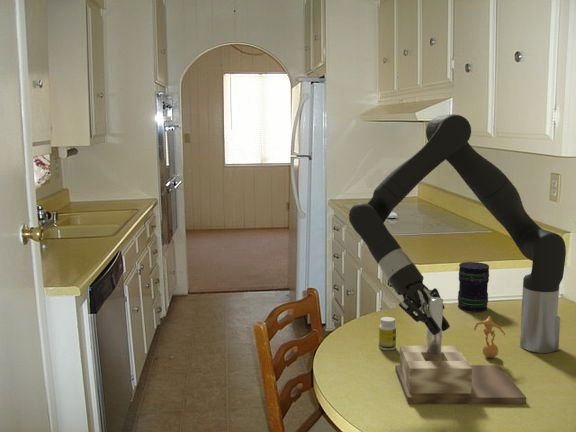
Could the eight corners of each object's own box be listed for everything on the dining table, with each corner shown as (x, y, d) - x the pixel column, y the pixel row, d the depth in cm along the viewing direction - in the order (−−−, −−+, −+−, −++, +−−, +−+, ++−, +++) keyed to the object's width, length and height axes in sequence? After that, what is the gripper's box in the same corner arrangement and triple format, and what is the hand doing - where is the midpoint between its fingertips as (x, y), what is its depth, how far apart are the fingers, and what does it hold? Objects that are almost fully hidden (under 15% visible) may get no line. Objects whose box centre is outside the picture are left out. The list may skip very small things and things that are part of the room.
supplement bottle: (395, 351, 164) (396, 322, 163) (378, 350, 165) (378, 321, 164) (395, 345, 169) (396, 316, 167) (379, 344, 170) (379, 315, 168)
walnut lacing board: (499, 370, 150) (499, 365, 150) (526, 403, 132) (526, 397, 132) (395, 370, 151) (395, 365, 151) (407, 403, 133) (407, 397, 133)
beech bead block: (455, 368, 148) (456, 345, 147) (471, 393, 134) (472, 368, 134) (399, 368, 149) (399, 345, 148) (409, 393, 135) (410, 368, 134)
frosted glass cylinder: (439, 349, 142) (441, 297, 140) (442, 354, 139) (444, 301, 137) (425, 349, 142) (426, 297, 140) (428, 354, 139) (429, 301, 137)
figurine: (508, 358, 158) (510, 315, 156) (501, 365, 153) (503, 321, 151) (477, 351, 163) (478, 309, 161) (469, 358, 158) (471, 315, 156)
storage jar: (452, 304, 205) (453, 262, 203) (477, 302, 208) (479, 261, 205) (467, 313, 196) (468, 269, 193) (493, 311, 198) (495, 267, 196)
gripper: (392, 267, 138) (435, 330, 131) (426, 258, 148) (468, 316, 141) (373, 285, 143) (415, 346, 136) (408, 274, 152) (448, 331, 145)
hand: (442, 330), depth 138 cm, fingers closed on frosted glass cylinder, 3 cm apart
